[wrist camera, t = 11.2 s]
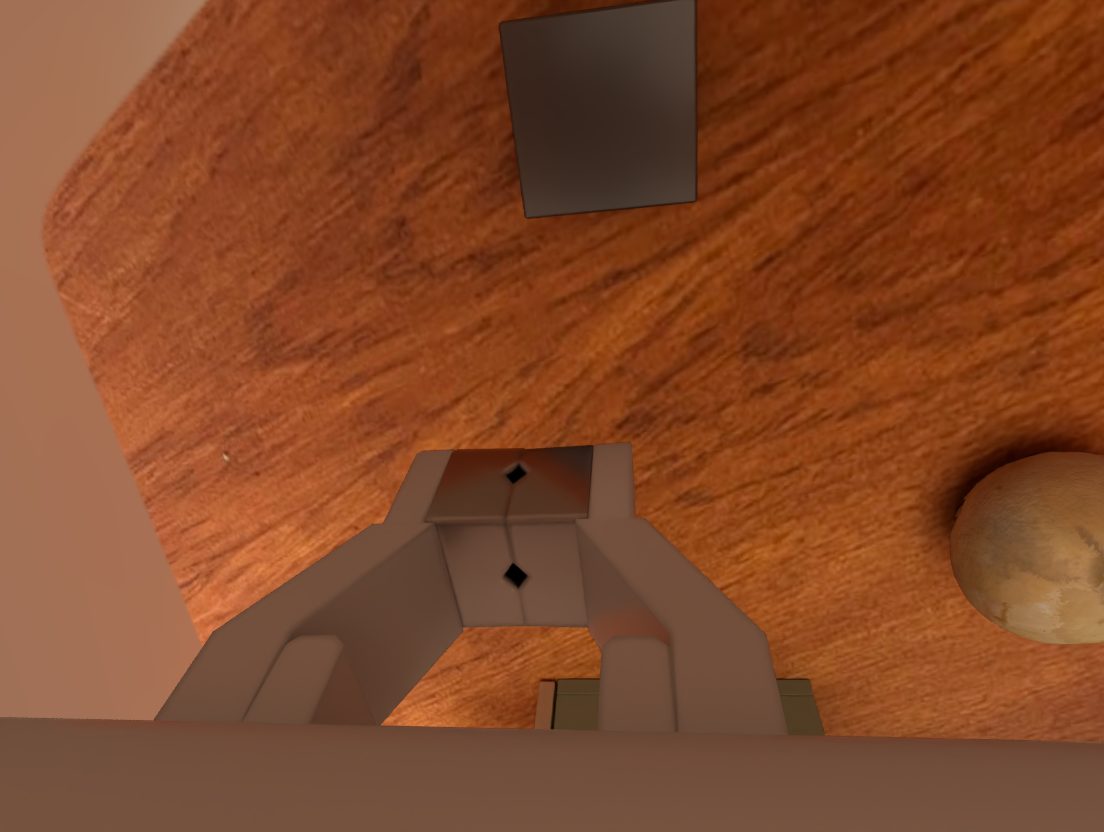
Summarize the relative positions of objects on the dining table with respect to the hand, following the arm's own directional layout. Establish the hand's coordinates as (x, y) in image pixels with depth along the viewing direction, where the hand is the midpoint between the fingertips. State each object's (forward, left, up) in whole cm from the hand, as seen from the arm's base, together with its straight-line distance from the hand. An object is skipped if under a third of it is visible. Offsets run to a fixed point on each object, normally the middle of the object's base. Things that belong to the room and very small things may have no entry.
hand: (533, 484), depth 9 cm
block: (+1, +3, -17) cm, 17 cm away
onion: (+18, -15, -17) cm, 29 cm away
